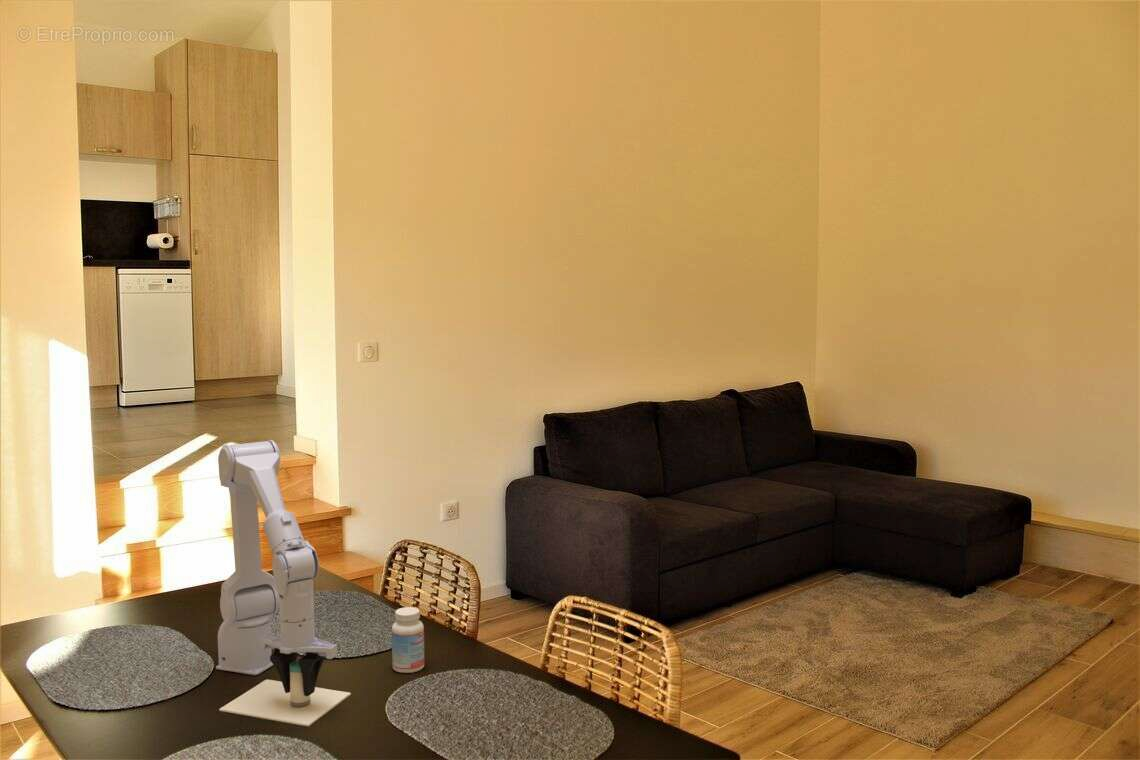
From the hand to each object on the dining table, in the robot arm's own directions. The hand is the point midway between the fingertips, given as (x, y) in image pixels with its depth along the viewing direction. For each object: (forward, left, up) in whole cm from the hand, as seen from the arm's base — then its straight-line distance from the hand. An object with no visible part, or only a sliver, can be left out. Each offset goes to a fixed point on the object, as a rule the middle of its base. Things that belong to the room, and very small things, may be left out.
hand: (299, 692), depth 165 cm
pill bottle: (+10, +21, -3) cm, 23 cm away
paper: (-3, 0, -2) cm, 4 cm away
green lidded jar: (0, 0, -2) cm, 2 cm away
